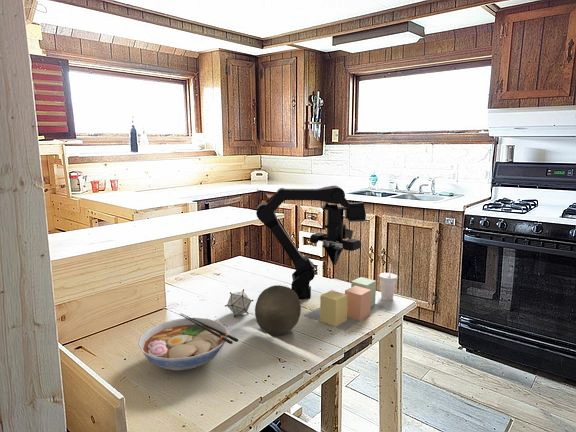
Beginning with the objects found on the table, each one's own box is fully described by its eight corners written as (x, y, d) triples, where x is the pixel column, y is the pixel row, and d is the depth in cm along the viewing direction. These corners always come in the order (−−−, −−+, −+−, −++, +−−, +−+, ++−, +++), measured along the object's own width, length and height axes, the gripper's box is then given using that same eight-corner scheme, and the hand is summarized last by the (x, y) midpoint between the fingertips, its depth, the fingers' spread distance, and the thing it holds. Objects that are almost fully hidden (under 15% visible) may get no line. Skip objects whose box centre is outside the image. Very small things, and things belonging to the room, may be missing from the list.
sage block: (350, 304, 145) (351, 281, 143) (360, 299, 149) (361, 276, 148) (365, 309, 141) (366, 285, 139) (375, 304, 145) (376, 280, 144)
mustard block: (320, 320, 132) (320, 295, 131) (331, 314, 137) (331, 290, 135) (335, 326, 128) (336, 300, 127) (346, 320, 133) (347, 294, 131)
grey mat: (303, 319, 137) (303, 315, 136) (345, 297, 154) (345, 294, 154) (344, 334, 126) (344, 330, 126) (384, 309, 144) (384, 306, 143)
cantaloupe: (245, 333, 127) (243, 286, 124) (281, 320, 136) (281, 275, 133) (274, 351, 116) (273, 300, 113) (311, 336, 125) (311, 288, 122)
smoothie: (391, 306, 146) (393, 267, 144) (374, 302, 150) (376, 264, 148) (399, 300, 151) (401, 263, 149) (382, 296, 155) (384, 260, 153)
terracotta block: (344, 315, 136) (344, 290, 135) (354, 309, 141) (355, 285, 139) (360, 320, 132) (360, 295, 131) (370, 314, 137) (371, 289, 135)
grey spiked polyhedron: (234, 325, 140) (214, 303, 139) (246, 308, 147) (228, 287, 145) (250, 320, 135) (230, 296, 133) (263, 302, 141) (244, 280, 139)
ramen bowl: (122, 360, 112) (120, 331, 111) (196, 332, 128) (195, 307, 126) (170, 401, 95) (168, 368, 93) (249, 363, 110) (248, 334, 109)
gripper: (370, 221, 147) (369, 264, 150) (327, 215, 160) (327, 255, 163) (352, 227, 139) (351, 272, 142) (309, 219, 152) (308, 261, 155)
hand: (334, 264), depth 151 cm, fingers closed
